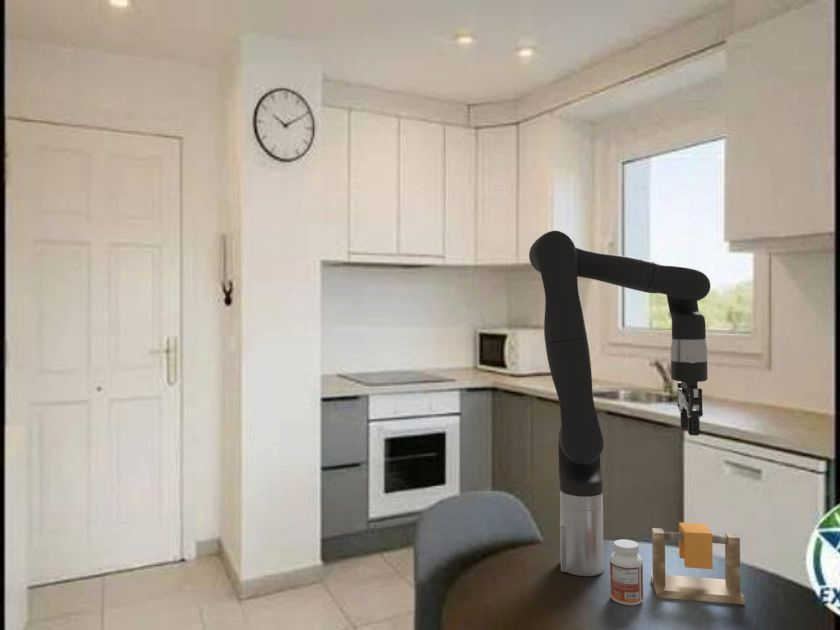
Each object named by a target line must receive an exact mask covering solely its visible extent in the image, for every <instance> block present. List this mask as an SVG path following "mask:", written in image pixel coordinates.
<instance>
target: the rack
mask: <svg viewBox="0 0 840 630" xmlns="http://www.w3.org/2000/svg"><path fill="white" fill-rule="evenodd" d="M651 529H652V531H651V534H652V535H651V537H652V538H651V539H652V545H651V546H652V548H651V549H652V551H651V552H652V573H650V582H651V584H652V587H653V590H654V592H655V595H656V598H659V599H671V600H672V599H673V600H685V601H686V600H687V601H696V602H710V603H720V604H722V603H723V604H733V605H734V604H735V605H745V596H744V594H743V593H742V590H741V543H740V542H741V538H740V536H739V535H738V534H737V533H736V532H726V531H725V532H724V535H722V534H712V544H719V545H720V544H722V545H723V544H724V557H725V558H724V566H725V567H724V568H725V569H724V570H725V573H724V574H725V577H724V579H723V578H712V577H711V578H710V577H699V576H683V575H672V574H666V541H673V542H675V541H676V542H679V541H684V535H683V534H682V533H679V532H676V531H675V532H672V531H665V530H664V529H663V528H657V527H653V528H651Z"/></svg>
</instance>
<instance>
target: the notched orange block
mask: <svg viewBox="0 0 840 630" xmlns="http://www.w3.org/2000/svg"><path fill="white" fill-rule="evenodd" d="M678 533H682V534H683V535H684V541H678V545H679V546H678V549H679V558H680V559H682V560H683V561H684V562H683V563H684V567H685V568H687V569H702V570H703V569H704V570H714V569H713V543H712V535H713V533H712V532H711V530H710V529H709V528H708V526H707V525H706V524H705V523H694V522H678Z"/></svg>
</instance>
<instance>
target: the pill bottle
mask: <svg viewBox="0 0 840 630" xmlns="http://www.w3.org/2000/svg"><path fill="white" fill-rule="evenodd" d="M639 547H640V546H639V543H638V542H637V541H635V540H631V539H617V540H614V541H613V550H614V551H613V552H612V553H611V555H610V558H609V569H610V570H609V572H610V573H609V574H610V577H609V578H610V580H609V581H610V582H609V584H610V597H611V600H613V601H614V602H616V603H618V604H620V605H625V606H637V605H639V604H641V603H642V602H643V600H644V575H643V574H644V573H643V571H644V567H643V566H644V565H643V559H642V557H641V555H639Z"/></svg>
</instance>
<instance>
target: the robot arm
mask: <svg viewBox="0 0 840 630" xmlns="http://www.w3.org/2000/svg"><path fill="white" fill-rule="evenodd" d="M528 256H529V257H528V258H529V263H530V264H531V266H532V268H534V270H535V271H537V272H539V273H540V276H541V280H542V284H543V290H544V298H545V301H544V303H545V304H544V305H545V306H544V307H545V308H544V318H543V319H544V320H543V321H544V323H543V328H544V329H543V333H544V334H543V336H544V343H545V350H546V356H547V358H546V359H547V362H548V368H549V370H550V375H551V379H552V382H553V385H554V388H555V392H556V395H557V397H558V403H559V411H560V412H559V413H560V424H561V427H560V429H559V432H558V440H557V441H558V442H557V443H558V475H559V490H560V491H559V499H560V500H559V505H560V506H559V507H560V508H559V513H560V514H559V515H560V518H559V531H560V532H559V533H560V534H559V535H560V537H559V538H560V541H559V542H560V545H559V546H560V572H561V573H562V572H563V573H568V574H571V575H574V576H579V577H580V576H582V577H594V576H598V575H601V574H602V573H603V572H604V562H605V561H604V506H603V503H604V500H603V499H604V496H603V495H604V493H603V492H604V491H603V490H604V489H603V477H602V469H601V455H602V454H603V453H602V452H603V450H604V445H605V442H604V436H603V433H602V429H601V426H600V421H599V419H598V415H597V410H596V405H595V401H594V394H593V377H592V376H593V375H592V363H591V355H590V353H591V352H590V349H589V348H590V347H589V341H588V335H587V329H586V324H585V323H586V322H585V317H584V313H583V308H582V307H583V306H582V303H581V299H580V293H579V287H578V278H584V279H590V280H594V281H597V282H598V281H599V282H603V283H606V284H611V285H613V286H618V287H622V288H626V289H630V290H635V291H638V292H641V293H642V292H643V293H649V294H662V295H666V298H667V305H668V311H669V314H670V317H671V345H670V379H672V381H675V382H677V384H676V385H677V404H676V405H677V407H678V410H679V413H680V414H679V415H680V428H681V429H687V434H689V435H688V436H694V437H695V436H697V437H698V436H699V435H700V434H701V433H700V432H701V431H700V429H701V428H700V427H701V426H700V423H701V422H700V419H701V417H703V415H704V412H703V411H704V410H703V389H702V388H700V387H698V386H699V385H698V384H699V382H700V383H702V382H706V381H707V380H708V378H709V377H708V346H707V337H706V336H707V335H706V334H707V333H706V331H707V329H706V327H707V326H706V318H705V316H704V315H703V314H702V313H700V310H699V305H698V304H699V303H698V302H699V301H701V300H703V299H704V298H706V297H707V296H708V294H709V293H710V291H711V281H710V279H709V277H708V276H707V275H706V274H705V273H704V272H702V271H700V270H698V269H695V268H689V267H683V266H676V265H667V264H663V263H658V262H656V261H651V260H647V259H642V258H639V257H634V256H627V255H620V254H610V253H600V252H596V251H595V252H594V251H591V250H590V251H589V250H586V249H582V248H578V247H577V246H576V245H575V243H574V241H573V239H572V238H571V237H570V236H569V235H568V233H565V232H564V231H561V230H551V231H548V232H546V233H545V232H544V234H542V235H540V237H539V238H537V239H536V240H535V241H534V242H533V244H532V245H531V246H530V249H529V254H528Z"/></svg>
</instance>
